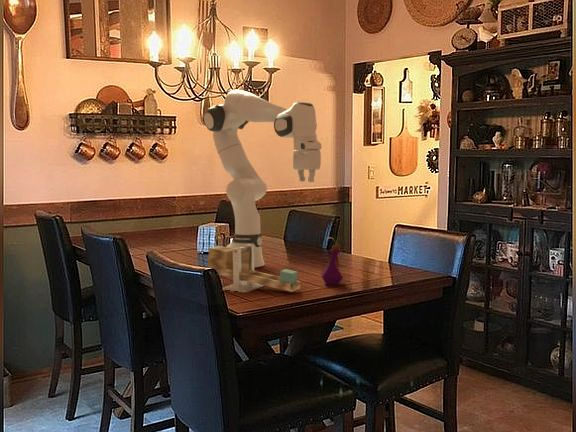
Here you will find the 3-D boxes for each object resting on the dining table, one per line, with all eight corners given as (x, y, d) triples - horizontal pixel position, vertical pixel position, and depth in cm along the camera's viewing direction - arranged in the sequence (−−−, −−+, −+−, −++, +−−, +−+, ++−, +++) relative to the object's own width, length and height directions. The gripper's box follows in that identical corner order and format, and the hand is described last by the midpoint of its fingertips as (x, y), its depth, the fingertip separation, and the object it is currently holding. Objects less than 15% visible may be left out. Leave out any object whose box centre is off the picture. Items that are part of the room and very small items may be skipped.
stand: (222, 290, 241) (221, 248, 239) (242, 283, 253) (242, 243, 252) (246, 292, 236) (245, 250, 235) (265, 285, 248) (264, 244, 247)
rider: (278, 284, 235) (280, 270, 234) (284, 282, 239) (285, 269, 238) (291, 287, 233) (292, 273, 232) (296, 285, 237) (297, 271, 236)
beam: (207, 271, 248) (209, 246, 246) (216, 268, 253) (218, 244, 252) (291, 291, 232) (294, 264, 230) (300, 288, 237) (302, 261, 236)
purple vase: (340, 282, 253) (340, 235, 251) (342, 286, 245) (342, 238, 243) (321, 282, 252) (320, 236, 251) (322, 286, 245) (322, 238, 243)
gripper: (288, 146, 258) (289, 181, 259) (307, 144, 239) (308, 182, 240) (303, 145, 260) (304, 180, 261) (323, 144, 241) (324, 181, 242)
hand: (306, 181), depth 251 cm, fingers open, 8 cm apart
